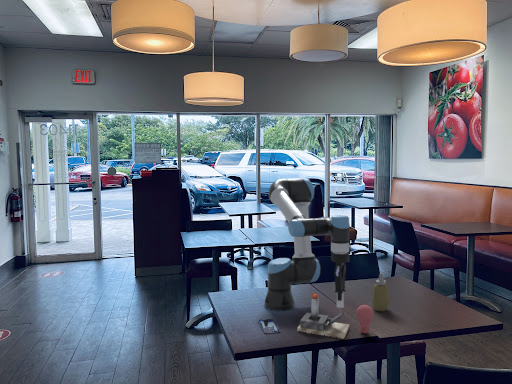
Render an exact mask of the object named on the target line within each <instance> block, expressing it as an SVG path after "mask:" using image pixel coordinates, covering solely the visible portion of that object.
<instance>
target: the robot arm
mask: <svg viewBox="0 0 512 384" xmlns="http://www.w3.org/2000/svg"><path fill="white" fill-rule="evenodd" d="M267 192H268V193H267V194H268V199H269V200H270V201H271V203H272V204H273V205H276V207H277V208H278V210H279V211H280V213H281V214H282V216H284V218H285V220H287V223H288V226H287V229H288V233H289V235H290V237H293V243H294V247H293V248H294V254H293V256H292V259H291V258H288V257H279V258H275V259H272V260H271V261H269V262H268V264H267V270H266V271H267V292H266V295H265V299H264V307H265V306H266V307H267V309H268V308H270V309H269V310H272V309H274V310H273V311H287V310H290V309H293V308H294V307H295V299H294V296H293V294H292V285H296V284H309V283H314V282H316V281H317V280H318V279H319V277H320V275H321V264H320V261H319V259H317V258H316V256H315V254H314V253H312V252H313V251H312V243H311V237H313V236H314V237H316V236H330V252H331V253H330V260H331V262H333V263H335V266H334V271H333V274H334V285H335V290H334V293H335V294H336V308H339V309H344V307H345V305H344V304H345V292H346V289H345V288H346V270H347V265H346V263H349V262H350V248H351V244H350V227H351V226H350V225H351V224H350V217H349V216H348V215H344V214H342V215H341V214H336V215H332V216H331V217H330V216H321V217H318V218H316V217H315V218H314V217H313V218H310V216H309V206H310V204H311V201H312V200H313V199H314V197H315V196H314V195H315V189H314V185H313V183H312V181H311V180H310V179H309V178H304V177H297V178H296V177H293V178H291V177H290V178H279V179H277V180H275V181H273V183H272V184H270V187H269V188H268V191H267ZM266 307H265V308H266Z"/></svg>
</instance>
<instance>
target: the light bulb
mask: <svg viewBox="0 0 512 384" xmlns="http://www.w3.org/2000/svg"><path fill="white" fill-rule="evenodd" d="M355 311H356V312H355V314H356V318H357V320H358V322H359V332H360V333H362V334H368V333H369V330H370V329H369V327H370V326H371V322H372V321H373V318H374V315H375V313H374V310H373V309H372V308H371V306H369V305H367V304H361V305H360V306H358V308H357V309H356V310H355Z"/></svg>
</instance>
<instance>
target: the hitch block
mask: <svg viewBox="0 0 512 384" xmlns="http://www.w3.org/2000/svg"><path fill="white" fill-rule="evenodd" d="M331 319H332V318H331V317H329V315H327V314H326V315H325V314H321V313H318V321H316V320H311V312H306V313H305V314H304V315H303V316H302V318H301V319H300V321H299V325H298V326H297V328H296V330H297V331H296V332H299V331H300V332H301V333H305V332H306V333H305V334H311V333H312V334H311V335H313V334H314V335H320V336H324V335H325V336H326V337H330V336H331V338H336V337H337V338H336V339H342V340H343V339H345V338H346V335H347V333H348V331H350V330H349V329H350V324H348V323H341V322H337V321H336V322H334V323H333V324H331V325H330V326H329V327H328V324H327V322H328V321H329V320H331Z"/></svg>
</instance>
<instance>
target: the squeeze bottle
mask: <svg viewBox="0 0 512 384" xmlns="http://www.w3.org/2000/svg"><path fill="white" fill-rule="evenodd" d="M386 281H387V280H385V279H384V275H383V273H382V272H380V273H379V275H378V279H376V280H375V284H374V285H373V291H372V301H371V303H372V306H373V309H374V310H375V311H378V312H386V311H387V310H388V308H389V305H390V297H389V296H390V295H389V286H388V285H387V282H386Z"/></svg>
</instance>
